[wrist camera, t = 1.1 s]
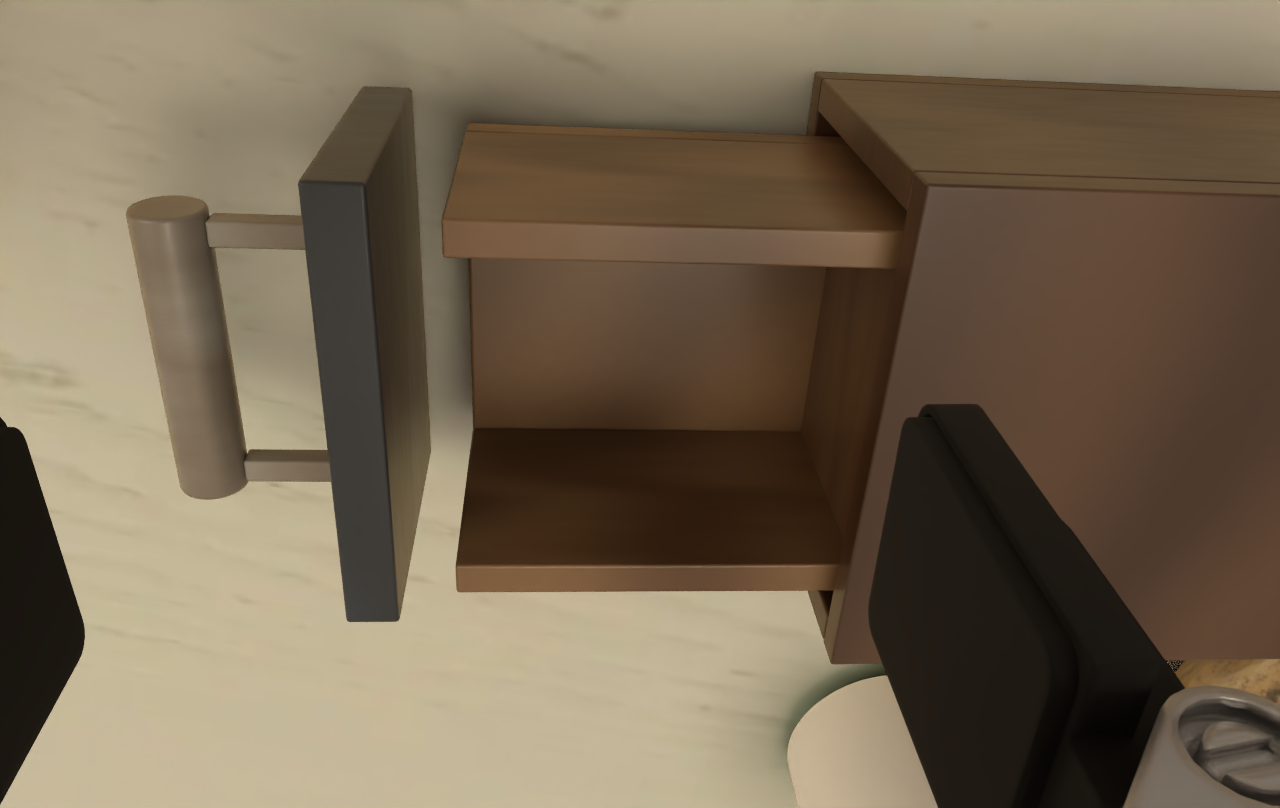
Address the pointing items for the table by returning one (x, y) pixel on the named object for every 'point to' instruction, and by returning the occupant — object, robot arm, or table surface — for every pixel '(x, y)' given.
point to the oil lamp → (1234, 675)
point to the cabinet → (1086, 330)
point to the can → (857, 752)
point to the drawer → (560, 351)
